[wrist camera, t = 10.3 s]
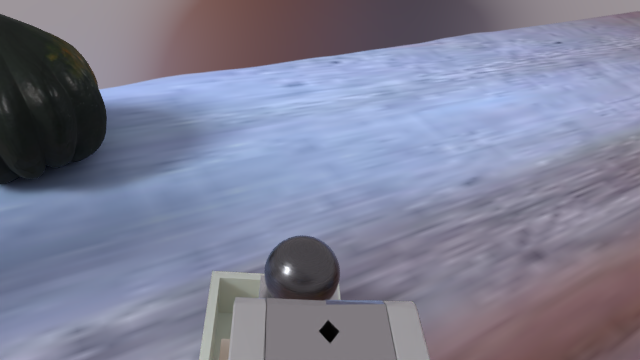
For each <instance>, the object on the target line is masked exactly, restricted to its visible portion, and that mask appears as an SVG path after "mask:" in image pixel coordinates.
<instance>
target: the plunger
mask: <svg viewBox="0 0 640 360" xmlns="http://www.w3.org/2000/svg"><path fill="white" fill-rule="evenodd" d="M339 278H340V269H339V264H338V261H337V258H336V256H335V254H334V253H333V251H332V250H331V249H330V247H329V246H328V245H326V244H325V243H324V242H322V241H321V240H319V239H317V238H314V237H310V236H295V237H291V238H288V239H286V240H284V241H282V242H281V243H279V244H278V245H277V246H276V247H275V248H274V249H273V251H272V252H271V253H270V255H269V257H268V259H267V262H266V265H265V275H261V279H260V289H259V298H266V301H267V298H277V299H299V300H320V301H324V300H338V288H337V287H338V284H339Z"/></svg>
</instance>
